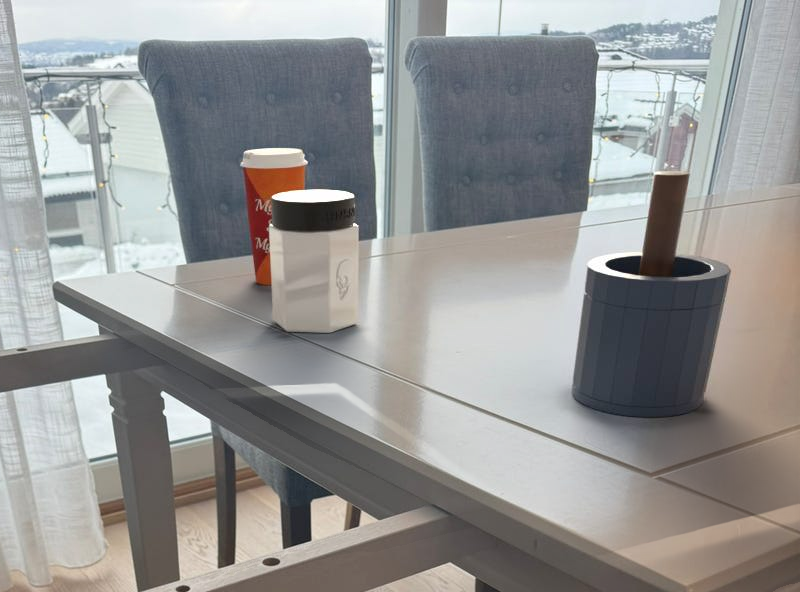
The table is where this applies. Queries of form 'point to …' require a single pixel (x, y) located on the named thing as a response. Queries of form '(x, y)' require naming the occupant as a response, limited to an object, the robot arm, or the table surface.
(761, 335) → the table surface
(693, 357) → the stoneware jar
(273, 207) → the jar
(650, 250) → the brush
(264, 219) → the paper cup
